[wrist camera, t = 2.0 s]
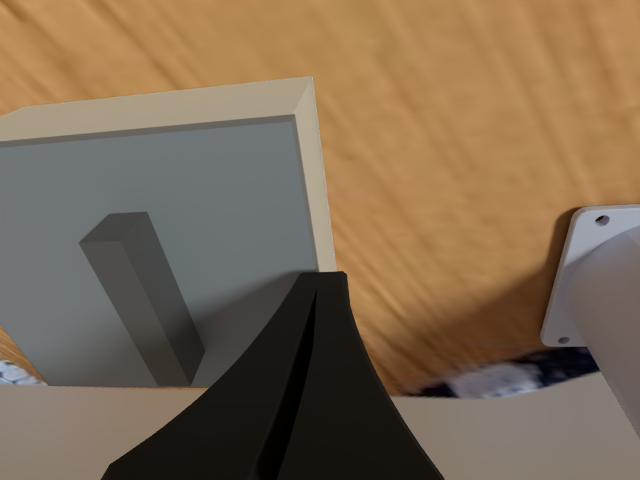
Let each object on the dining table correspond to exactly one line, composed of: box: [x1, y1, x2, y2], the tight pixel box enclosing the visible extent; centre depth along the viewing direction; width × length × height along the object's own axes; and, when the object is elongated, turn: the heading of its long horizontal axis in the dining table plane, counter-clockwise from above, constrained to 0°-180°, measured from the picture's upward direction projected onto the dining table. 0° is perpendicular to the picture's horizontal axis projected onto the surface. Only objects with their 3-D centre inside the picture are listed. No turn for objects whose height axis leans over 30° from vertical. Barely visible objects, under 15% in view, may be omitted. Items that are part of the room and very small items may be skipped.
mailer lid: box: [0, 114, 319, 388], centre depth 13 cm, size 12×10×2 cm
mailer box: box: [0, 76, 337, 272], centre depth 16 cm, size 12×10×5 cm
